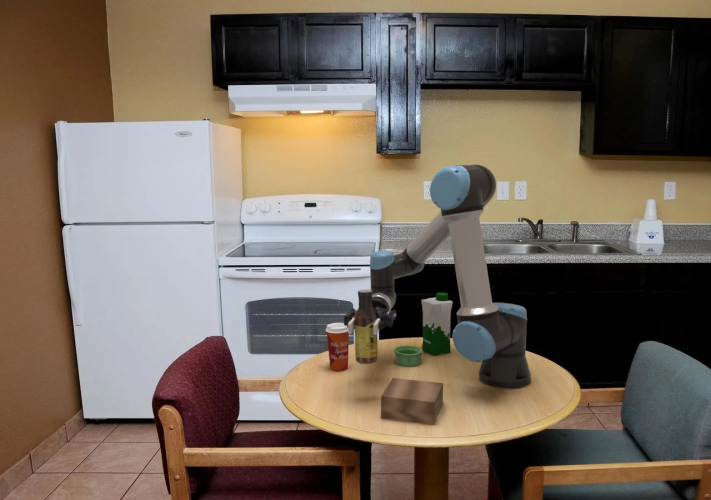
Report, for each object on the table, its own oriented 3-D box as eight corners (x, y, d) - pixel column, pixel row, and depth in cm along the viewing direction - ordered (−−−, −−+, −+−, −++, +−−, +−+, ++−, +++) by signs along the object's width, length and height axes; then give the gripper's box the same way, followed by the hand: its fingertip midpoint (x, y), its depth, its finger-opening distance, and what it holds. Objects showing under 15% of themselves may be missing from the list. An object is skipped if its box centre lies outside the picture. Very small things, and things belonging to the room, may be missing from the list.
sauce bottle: (374, 365, 162) (373, 294, 159) (352, 364, 164) (350, 293, 161) (380, 357, 168) (378, 288, 165) (358, 356, 170) (357, 288, 167)
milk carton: (454, 352, 204) (455, 295, 200) (432, 357, 200) (432, 299, 196) (439, 345, 211) (440, 290, 208) (418, 349, 207) (418, 293, 204)
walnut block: (442, 403, 163) (443, 383, 162) (434, 424, 151) (434, 402, 150) (392, 398, 167) (392, 377, 166) (380, 418, 155) (380, 396, 154)
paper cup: (332, 373, 186) (330, 330, 184) (323, 366, 193) (321, 324, 191) (355, 369, 189) (354, 326, 187) (345, 362, 196) (344, 320, 194)
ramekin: (418, 368, 190) (418, 355, 189) (391, 366, 193) (391, 352, 192) (424, 359, 198) (424, 346, 197) (397, 356, 201) (397, 344, 200)
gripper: (408, 321, 180) (398, 344, 158) (346, 319, 184) (327, 341, 162) (408, 296, 179) (397, 316, 157) (346, 295, 183) (326, 314, 161)
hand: (362, 329), depth 159 cm, fingers closed on sauce bottle, 6 cm apart
